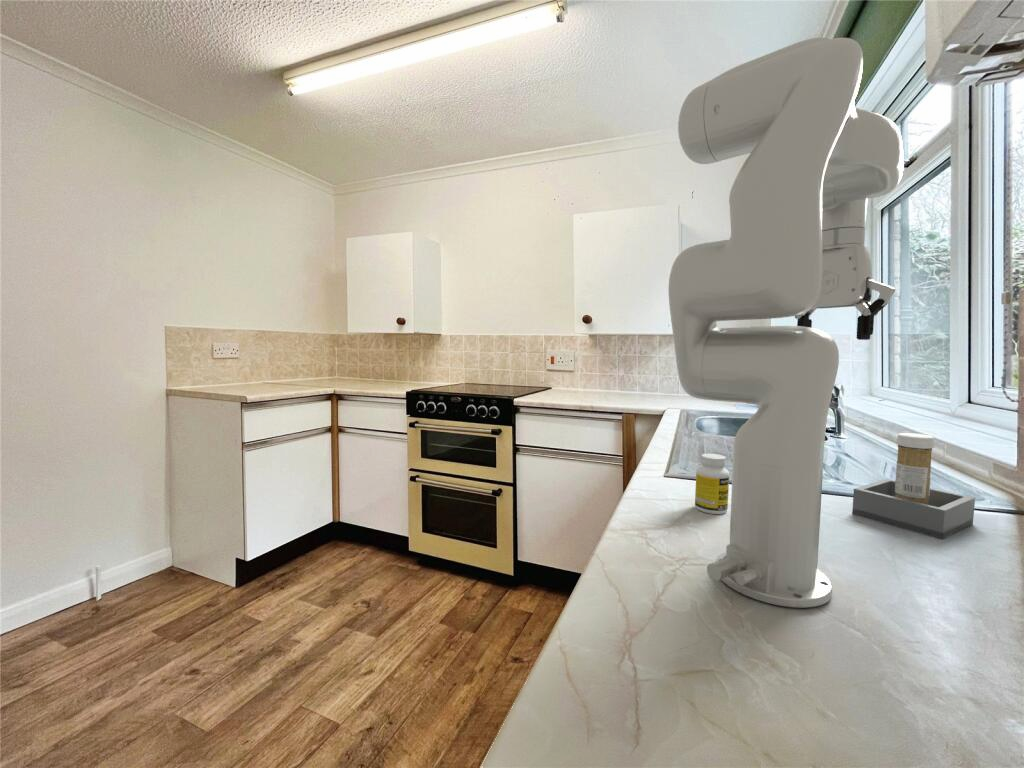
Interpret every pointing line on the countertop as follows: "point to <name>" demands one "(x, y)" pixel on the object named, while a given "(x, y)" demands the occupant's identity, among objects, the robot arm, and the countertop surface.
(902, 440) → the sprinkles bottle
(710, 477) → the supplement bottle
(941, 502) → the charcoal bin
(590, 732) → the countertop surface
